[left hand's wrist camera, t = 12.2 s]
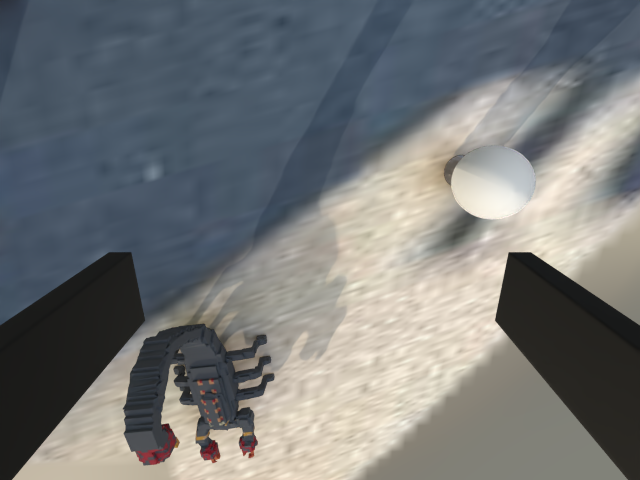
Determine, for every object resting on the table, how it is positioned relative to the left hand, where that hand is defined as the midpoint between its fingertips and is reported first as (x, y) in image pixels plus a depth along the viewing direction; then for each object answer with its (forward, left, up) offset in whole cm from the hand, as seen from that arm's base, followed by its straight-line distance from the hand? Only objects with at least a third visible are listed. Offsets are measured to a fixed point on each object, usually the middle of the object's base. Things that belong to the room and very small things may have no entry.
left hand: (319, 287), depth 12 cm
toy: (-21, -24, -29) cm, 42 cm away
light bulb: (+15, -5, -29) cm, 33 cm away
